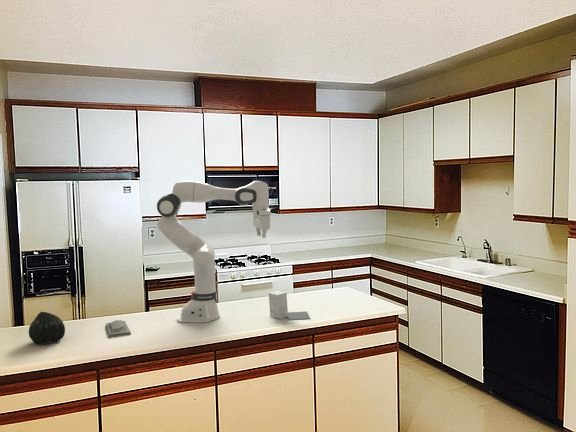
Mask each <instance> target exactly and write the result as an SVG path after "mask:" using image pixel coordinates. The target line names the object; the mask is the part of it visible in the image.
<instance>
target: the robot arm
mask: <svg viewBox="0 0 576 432" xmlns="http://www.w3.org/2000/svg"><path fill="white" fill-rule="evenodd" d="M268 186H269V185H268V183H266V182H265V181H261V180H253V181H252V182H250V183H249V184H247V185H245V186H244V185H243V186H239V187H238V188H228V187H227V188H226V187H218V186H214V185H211V184H209V183H205V182H201V181H195V180H194V181H193V180H185V181H183V180H182V181H177V182H175V183H174V185H173V187H172V192H171V193H169V194H168V193H167V194H165V195H163V196H161V197H160V198H159V199H158V201H157V203H156V209H157V212H158V214H160V215H161V217H160V218H159V219H158V221H157V224H156V226H157V228H158V230H159V232H161V234H162V235H163V236H164V237H165V238H167V240H169V241H170V242H171V243H172V244H173V245H175V247H177V248H178V249H179V250H180V251H182V252H184V253H185V254H187V255H188V256H189V257H191V258H192V260H193V272H194V273H193V274H194V291H193V290H192V291H191V292H190V297H191V299H190V300H189V301H188V302H187V303H186V304H184V305H183V307H182V309H181V312H180V314H178V316H177V317H176V318H177V322H178V323H208V322H211V321H214V320H217V319H219V318H221V315H220V312H219V308H218V302H217V301H218V291H217V288H216V287H217V286H216V283H217V282H216V264H215V263H216V262H215V260H216V259H215V255H216V254H215V249H214V248H213V247H212V246H211V245H210V244H208V243H207V242H206V241H205V240H203V239H202V238H200V237H199V236H198V235H196V234H195V233H194V232H193V231H192V230H190V229H189V228H188V227H187V226H186V225H185V224H184V223H182V222H181V221H180V220H179V218H178V217H177V216H178V215H179V214H178V213H179V211H180V209H181V206H182V204H183V203H199V204H200V203H209V202H211V201H215V200H225V201H234V202H235V203H237V204H239V205H240V206H247V205H252V215H253V219H252V220H253V221H252V224H253V227H255V229H256V236H259V237H260V236H261V238H263V239H265V238H266V237H267V231H269V230H270V228H271V215H272V212H271V209H270V204H269V203H270V202H269V199H270V198H269V196H270V195H269V194H270V193H269V192H270V191H269V187H268ZM261 231H262V232H261Z"/></svg>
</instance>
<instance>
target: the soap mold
mask: <svg viewBox="0 0 576 432" xmlns="http://www.w3.org/2000/svg"><path fill="white" fill-rule="evenodd" d="M105 329H106V332H107V335H108V338H110V339H111V338H116V337H122V336H130V335H131V334H132V333H131V330H130V328H129V327H128V324H127V323H126V321H125V320H122V319H117V320H113V321H112V322H111V321H110V322H107V323H105Z"/></svg>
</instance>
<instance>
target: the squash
mask: <svg viewBox="0 0 576 432" xmlns="http://www.w3.org/2000/svg"><path fill="white" fill-rule="evenodd" d="M65 326H66V325H65V324H64V321H63V319H61V318H60V316H58V315H56V314H52V313H51V312H46V311H40V312H39V313H38V314H37V316H35V318H34V319H33V321H32V322H31V324H30V325H29V328H28V336H29V338H30V340H31V341H32V342H33V343H34V344H37V345H42V346H43V345H46V344H48V343H51V342H52V341H53V342H58V341H59V342H60V340H62V339H63V338H64V336H65V333H66V327H65Z"/></svg>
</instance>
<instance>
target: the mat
mask: <svg viewBox="0 0 576 432" xmlns="http://www.w3.org/2000/svg"><path fill="white" fill-rule="evenodd" d="M286 319H287V321H296V320H297V321H298V320H311V317H310V315H309V313H308V311H288V316H287V317H286Z"/></svg>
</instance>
